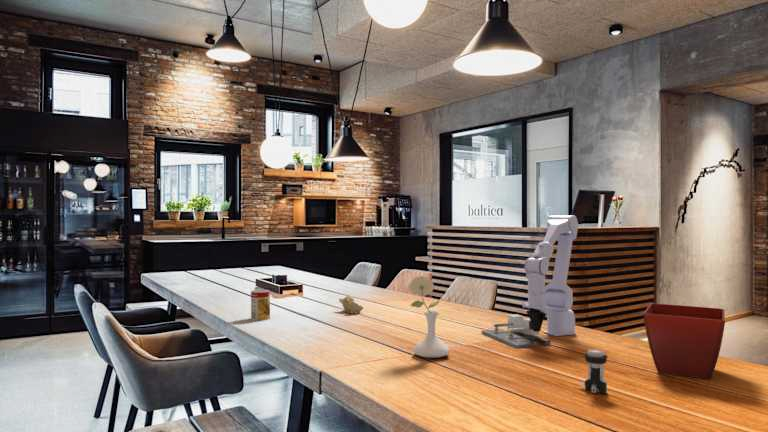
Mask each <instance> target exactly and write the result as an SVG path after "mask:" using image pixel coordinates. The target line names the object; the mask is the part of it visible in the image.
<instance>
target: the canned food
mask: <svg viewBox="0 0 768 432" xmlns="http://www.w3.org/2000/svg"><path fill="white" fill-rule="evenodd" d="M270 293H271V291H270V289H254V290H251V291H250V319H251V320H252V321H255V322H256V321H259V322H260V321H268V320H270V318H271V298H270V297H271V295H270Z"/></svg>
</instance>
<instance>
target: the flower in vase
mask: <svg viewBox="0 0 768 432" xmlns="http://www.w3.org/2000/svg"><path fill="white" fill-rule="evenodd" d="M408 288H409V290H410V293H411V294H412V295H414V296H416V295H417V296H418V297H421V299H422V301H421V300H415V301H413V302H411V304H410V307H415V308H422V307H423V305H424V306H425V309H426V310H425V311H423V313H422V314H424V315H425V318H426V322H427V333H426V336H425V337H424V338H423V339H422V340H421V341H420V342H419V343H418V342H417V344H416V345H415V346H414V348H413V352H414V354H415V355H417V356H419V357H423V358H429V359H430V358H431V359H437V358H441V357H442V358H443V357H445V356H448V355H449V353H450V351H451V350H450V348H449V347H448V345H447V344H446V343H444V342H443V341H442V340H441V339H440V338H439V337H438V336H437V334H436V320H437V317H438V316H439V314H440V311H438V310H430V308H434V307H436V306H437V305H438V304H439V302H440V300H439V299H438V300H437V301H434V302H432V303H430V304H429V305H428V306H427V305H426V303H425V300H424V297H425V296H427V295H431V294H432V292H433V291H434V289H435V285H434V282H433V280H432V279H431V278H428V276H424V275H421V276H419V275H418V276H416V277H415V278H413V279H411V282H410V283H409V285H408Z"/></svg>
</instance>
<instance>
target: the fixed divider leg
mask: <svg viewBox="0 0 768 432" xmlns="http://www.w3.org/2000/svg"><path fill="white" fill-rule="evenodd" d="M523 319H524V315H521V314H518V313H516V314H507V322H499V323H492V324H493V325H492V326H493V327H494V330H496V331H498V329H499V327H508V329H514V328H523Z"/></svg>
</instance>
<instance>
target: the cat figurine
mask: <svg viewBox="0 0 768 432" xmlns="http://www.w3.org/2000/svg"><path fill="white" fill-rule="evenodd" d="M338 302H339V303H340V304H341V305H342V307H343V309H344V311H343V312H345V313H347V314H349V313H352V314H359V313H360V312H361V311H363V310H364V307H363V306H362V305H360V304H358V303H357V302H355V299H354V297H353V296H351V295H349V296H345V297H344V298H339V299H338Z"/></svg>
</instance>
